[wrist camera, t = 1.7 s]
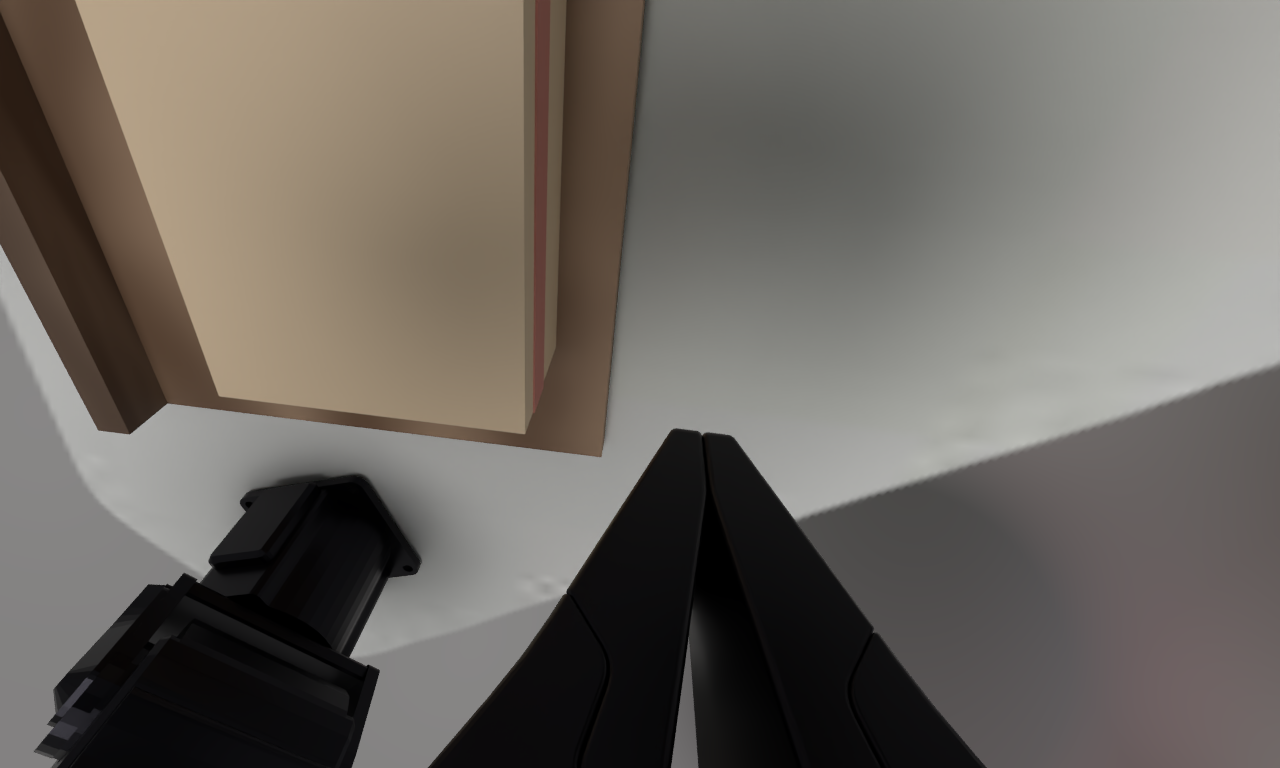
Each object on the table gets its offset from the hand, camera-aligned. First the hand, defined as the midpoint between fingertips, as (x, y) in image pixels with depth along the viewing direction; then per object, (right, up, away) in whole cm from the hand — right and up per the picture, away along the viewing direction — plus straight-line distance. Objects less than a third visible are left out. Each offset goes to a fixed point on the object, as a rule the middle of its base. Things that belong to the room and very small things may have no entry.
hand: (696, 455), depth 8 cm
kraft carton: (-8, +8, +10) cm, 15 cm away
